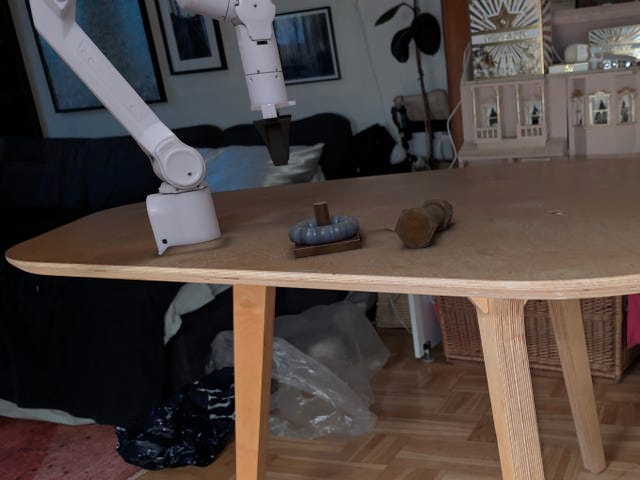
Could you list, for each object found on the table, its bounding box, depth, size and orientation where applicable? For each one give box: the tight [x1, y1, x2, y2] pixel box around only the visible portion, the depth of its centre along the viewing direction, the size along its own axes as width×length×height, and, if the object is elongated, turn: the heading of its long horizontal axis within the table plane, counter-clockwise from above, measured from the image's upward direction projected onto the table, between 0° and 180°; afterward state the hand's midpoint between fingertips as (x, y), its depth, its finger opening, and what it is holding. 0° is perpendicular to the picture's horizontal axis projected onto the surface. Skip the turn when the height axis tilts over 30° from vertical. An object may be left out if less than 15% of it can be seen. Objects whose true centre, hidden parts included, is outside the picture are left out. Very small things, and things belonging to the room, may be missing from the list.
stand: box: [293, 201, 362, 259], centre depth 100 cm, size 9×9×6 cm
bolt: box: [394, 198, 454, 249], centre depth 100 cm, size 6×5×15 cm
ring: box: [287, 214, 360, 245], centre depth 100 cm, size 10×10×2 cm
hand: (282, 163), depth 114 cm, fingers open, 7 cm apart
